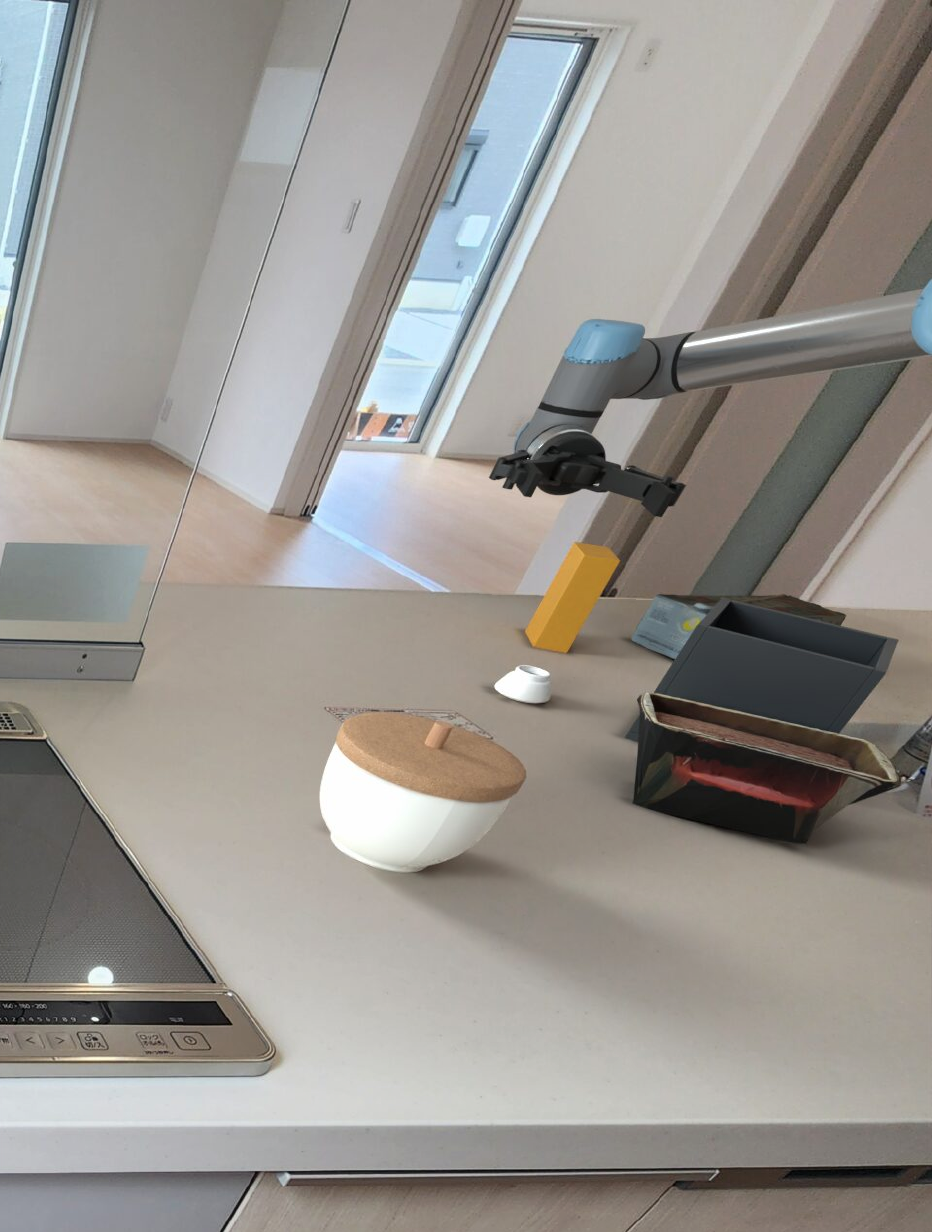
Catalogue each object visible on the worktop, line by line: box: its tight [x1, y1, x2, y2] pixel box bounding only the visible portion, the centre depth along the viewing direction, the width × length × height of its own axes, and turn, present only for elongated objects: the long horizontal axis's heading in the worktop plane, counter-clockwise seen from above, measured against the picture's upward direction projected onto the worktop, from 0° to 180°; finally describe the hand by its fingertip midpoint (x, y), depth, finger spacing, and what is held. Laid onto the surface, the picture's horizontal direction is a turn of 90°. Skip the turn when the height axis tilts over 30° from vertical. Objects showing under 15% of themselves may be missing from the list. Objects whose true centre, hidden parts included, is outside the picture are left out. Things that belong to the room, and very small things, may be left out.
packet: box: [524, 541, 621, 654], centre depth 126 cm, size 4×6×11 cm, turn 155°
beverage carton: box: [631, 593, 847, 660], centre depth 128 cm, size 8×19×7 cm, turn 96°
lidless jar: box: [494, 664, 552, 704], centre depth 114 cm, size 5×3×5 cm
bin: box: [624, 598, 899, 743], centre depth 104 cm, size 14×14×12 cm
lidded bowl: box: [319, 712, 527, 874], centre depth 83 cm, size 13×13×11 cm
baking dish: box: [632, 691, 902, 845], centre depth 94 cm, size 14×18×10 cm
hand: (598, 495), depth 128 cm, fingers open, 13 cm apart
